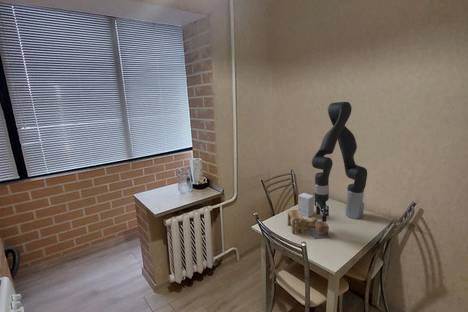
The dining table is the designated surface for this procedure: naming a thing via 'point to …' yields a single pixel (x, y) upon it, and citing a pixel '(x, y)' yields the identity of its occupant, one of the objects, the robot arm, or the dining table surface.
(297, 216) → the oak bridge
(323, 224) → the walnut block
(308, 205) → the small box
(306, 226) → the beech rod
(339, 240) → the dining table surface
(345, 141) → the robot arm
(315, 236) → the slate coaster
